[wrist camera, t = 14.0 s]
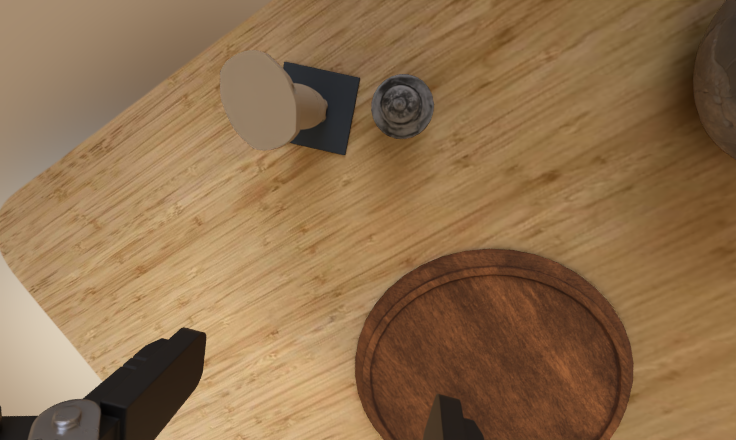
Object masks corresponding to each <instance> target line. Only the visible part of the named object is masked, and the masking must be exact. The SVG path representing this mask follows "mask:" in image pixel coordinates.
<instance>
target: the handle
mask: <svg viewBox="0 0 736 440" xmlns="http://www.w3.org/2000/svg"><path fill="white" fill-rule="evenodd" d="M220 94H221V101H222V104H223V107H224V109H225V112H226V114H227V116H228V119H229V121H230V123H231V125H232V127H233V128H234V130H235V131H236V132H237V133H238V135H239V136H240V137H241V138H242V139H244V140H245V141H246V142H247V143H248V144H249V145H250V146H251V147H252V148H253V149H257V150H264V151H265V150H272V149H276V148H279V147H282V146H284V145H286V144H288V143H290V142H291V141H292V140H294V138H295V137H296V136H297V135H298V133H299V131H300V130H302V129H309V128H312V127H314V126H316V125H318V124H319V123H320V122H323V121H324V120H325V119H326V109H327V107H328V104H327V101H326V100H325V99H323V98H322V96H321V95H320V94H319V93H318V92H317V91H315V90H314V89H312V88H310V87H308V86H305V85H302V84H297V83H293V82H292V80H291V78H290V76H289V75H288V74H287V73H286V71H285V70H284V69H283V68H282V67H281V66H280V65H279V64H278V63H277V62H276V61H275V60H274V59H273V58H272V57H271V56H270V55H269V54H267V53H265V52H262V51H258V50H248V51H244V52H241V53H238V54H236V55H234V56H233V57H231V58H230V59H229V60H228V61H226V63H225V64H224V65H223V67H222V69H221V71H220Z"/></svg>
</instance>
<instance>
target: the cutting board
mask: <svg viewBox="0 0 736 440" xmlns="http://www.w3.org/2000/svg"><path fill="white" fill-rule="evenodd" d="M355 377H356V383H357V389H358V394H359V397H360V400H361V402H362V405H363V408H364V411H365V412H366V414H367V416H368V418H369V420H370V421H371V423H372V425H373V426H374V428H375V429H376V430H377V431H378V433H379V434H380V435H381V437H382V438H383V439H384V440H423V435H424V431H425V427H426V424H427V421H428V418H429V415H430V411H431V408H432V405H433V402H434V399H435V396H436V394H441V395H445V396H449V397H453V398H457V399H460V401H461V406H462V412H463V417H464V418H467V419H471V420H474V421H475V423H476V424H477V426H478V428H479V429H480V431H481V432H482V434H483V436H484V440H610V438H611V437H612V435H613V434H614V432H615V431H616V429H617V428H618V426H619V424H620V422H621V420H622V417H623V415H624V413H625V410H626V407H627V403H628V401H629V396H630V392H631V388H632V383H633V358H632V352H631V346H630V342H629V339H628V337H627V334H626V331H625V329H624V326H623V324H622V322H621V321H620V319H619V317H618V316H617V314H616V312H615V311H614V309H613V308H612V306H611V305H610V304H609V303H608V301H607V300H606V299H605V298H604V297H603V296H602V295H601V294H600V293H599V292H598V290H597V289H596V288H594V287H593V286H592V285H591V284H589V283H588V282H587V281H586V280H584V279H583V278H582V277H581V276H579V275H578V274H577V273H575V272H573V271H571V270H569V269H568V268H566V267H564V266H562V265H560V264H559V263H557V262H554V261H551V260H548V259H546V258H543V257H540V256H537V255H534V254H529V253H524V252H519V251H514V250H500V249H482V250H472V251H464V252H460V253H455V254H451V255H447V256H443V257H441V258H438V259H436V260H433V261H431V262H428V263H426V264H424V265H422V266H420V267H418V268H417V269H415V270H413V271H411V272H410V273H408V274H406V275H405V276H403V277H402V278H401V279H400V280H399V281H397V282H396V283H395V284H394V285H393V286H391V287H390V288H389V289H388V290H387V291H386V292H385V294H384V295H383V296H382V297H381V298H380V299H379V301H378V302H377V303H376V304H375V306H374V308H373V309H372V311H371V313H370V314H369V316H368V318H367V319H366V321H365V324H364V327H363V329H362V332H361V334H360V337H359V341H358V347H357V352H356V357H355Z"/></svg>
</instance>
